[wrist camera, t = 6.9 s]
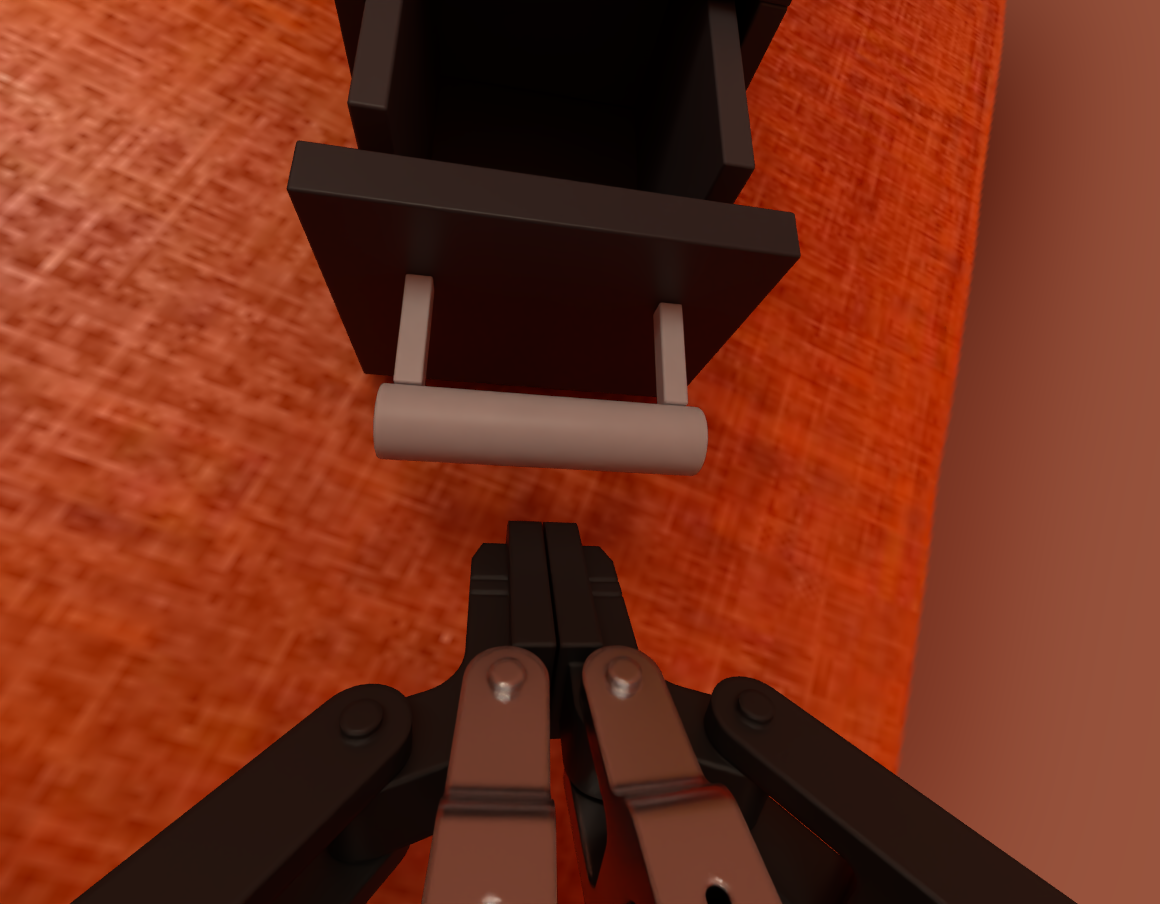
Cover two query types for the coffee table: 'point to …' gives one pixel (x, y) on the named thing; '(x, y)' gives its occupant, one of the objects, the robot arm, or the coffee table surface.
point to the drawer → (542, 225)
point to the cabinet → (756, 15)
